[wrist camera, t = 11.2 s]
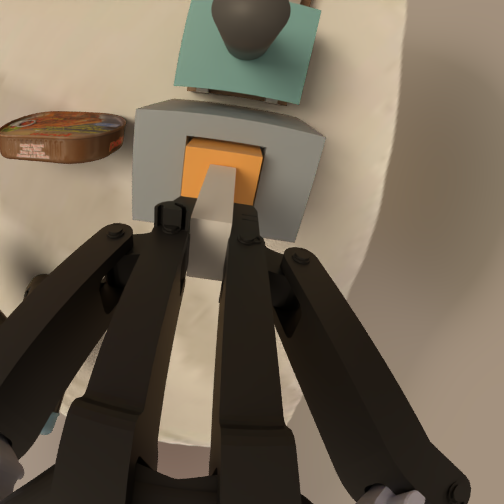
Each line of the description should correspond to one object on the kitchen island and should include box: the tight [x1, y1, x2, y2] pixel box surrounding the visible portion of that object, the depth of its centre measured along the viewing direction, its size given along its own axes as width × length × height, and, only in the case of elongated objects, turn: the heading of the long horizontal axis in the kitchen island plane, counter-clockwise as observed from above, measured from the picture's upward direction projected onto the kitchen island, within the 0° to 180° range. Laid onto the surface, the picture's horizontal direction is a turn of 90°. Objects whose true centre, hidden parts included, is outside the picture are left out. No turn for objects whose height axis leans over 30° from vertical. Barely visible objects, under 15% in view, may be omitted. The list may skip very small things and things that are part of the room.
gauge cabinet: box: [132, 99, 326, 243], centre depth 21 cm, size 12×8×10 cm, turn 79°
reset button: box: [181, 136, 263, 205], centre depth 17 cm, size 4×4×3 cm
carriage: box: [174, 0, 321, 105], centre depth 12 cm, size 8×9×13 cm
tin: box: [0, 111, 126, 164], centre depth 19 cm, size 15×3×8 cm, turn 75°
